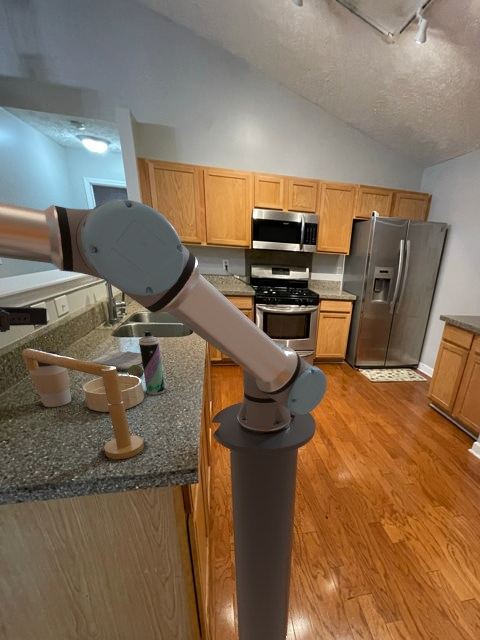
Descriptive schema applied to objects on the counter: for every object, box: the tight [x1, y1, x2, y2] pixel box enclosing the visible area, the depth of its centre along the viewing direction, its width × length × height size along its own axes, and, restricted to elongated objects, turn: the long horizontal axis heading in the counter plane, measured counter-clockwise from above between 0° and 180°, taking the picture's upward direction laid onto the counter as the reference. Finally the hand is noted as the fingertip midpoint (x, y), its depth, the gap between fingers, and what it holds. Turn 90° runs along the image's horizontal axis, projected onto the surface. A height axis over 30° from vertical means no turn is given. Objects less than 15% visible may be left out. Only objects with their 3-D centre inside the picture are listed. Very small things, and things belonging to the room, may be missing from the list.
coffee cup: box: [28, 350, 72, 408], centre depth 91 cm, size 9×9×15 cm
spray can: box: [138, 330, 166, 396], centre depth 101 cm, size 6×6×20 cm
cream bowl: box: [82, 374, 145, 413], centre depth 95 cm, size 15×15×6 cm
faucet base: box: [103, 401, 145, 460], centre depth 71 cm, size 8×8×12 cm
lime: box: [127, 365, 144, 379], centre depth 114 cm, size 4×5×5 cm
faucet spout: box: [21, 348, 123, 404], centre depth 71 cm, size 29×3×8 cm, turn 68°
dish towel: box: [90, 349, 143, 372], centre depth 128 cm, size 19×18×3 cm
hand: (15, 306), depth 55 cm, fingers open, 13 cm apart
